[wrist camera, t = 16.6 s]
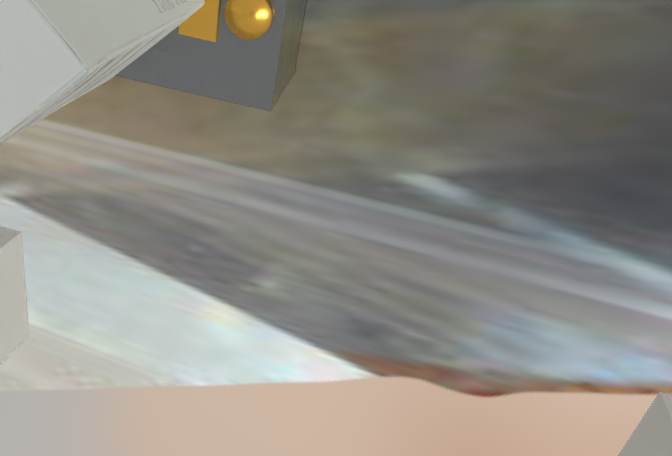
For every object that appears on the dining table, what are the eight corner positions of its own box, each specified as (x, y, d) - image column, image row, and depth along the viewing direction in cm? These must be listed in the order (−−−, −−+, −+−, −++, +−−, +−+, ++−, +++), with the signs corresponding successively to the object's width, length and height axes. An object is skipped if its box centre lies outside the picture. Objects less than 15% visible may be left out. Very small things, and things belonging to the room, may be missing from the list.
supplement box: (18, -40, 32) (-204, -1, 21) (116, -132, 29) (-81, -143, 18) (113, 80, 34) (-41, 172, 23) (212, 7, 31) (90, 70, 20)
